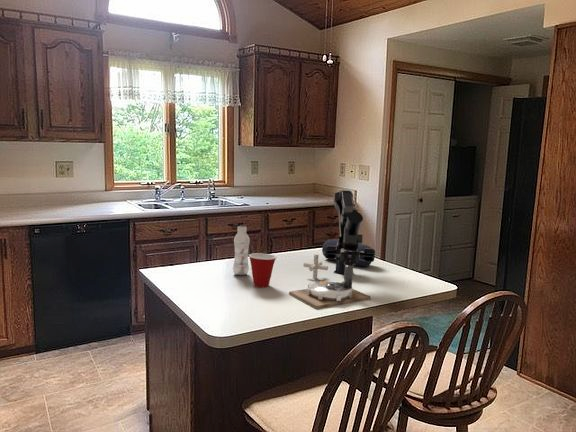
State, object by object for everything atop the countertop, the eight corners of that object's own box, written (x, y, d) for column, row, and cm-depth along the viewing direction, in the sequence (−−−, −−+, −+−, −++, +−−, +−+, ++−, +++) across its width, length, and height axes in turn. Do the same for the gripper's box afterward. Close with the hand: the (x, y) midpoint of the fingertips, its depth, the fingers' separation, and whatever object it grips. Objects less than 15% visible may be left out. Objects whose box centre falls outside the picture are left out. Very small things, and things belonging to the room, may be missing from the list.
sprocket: (315, 302, 164) (317, 273, 162) (300, 287, 180) (301, 261, 178) (361, 299, 169) (363, 271, 167) (342, 285, 185) (343, 259, 183)
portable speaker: (376, 266, 222) (378, 245, 220) (366, 270, 214) (367, 248, 213) (330, 256, 237) (331, 236, 235) (319, 259, 229) (320, 239, 227)
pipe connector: (330, 277, 200) (332, 253, 198) (322, 283, 191) (323, 258, 189) (308, 273, 204) (309, 250, 202) (298, 279, 195) (300, 255, 193)
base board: (315, 309, 161) (316, 300, 161) (288, 294, 175) (289, 286, 175) (370, 299, 174) (370, 291, 173) (341, 286, 188) (341, 278, 188)
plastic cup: (280, 284, 187) (282, 254, 185) (266, 291, 178) (267, 259, 176) (257, 279, 192) (258, 250, 190) (241, 286, 183) (242, 255, 181)
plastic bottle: (229, 275, 196) (230, 227, 193) (237, 271, 202) (238, 224, 199) (243, 277, 194) (245, 228, 191) (251, 273, 200) (252, 226, 197)
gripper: (327, 224, 185) (323, 259, 175) (376, 227, 182) (375, 263, 173) (327, 241, 193) (323, 274, 184) (374, 244, 191) (373, 278, 182)
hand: (348, 272), depth 181 cm, fingers closed
